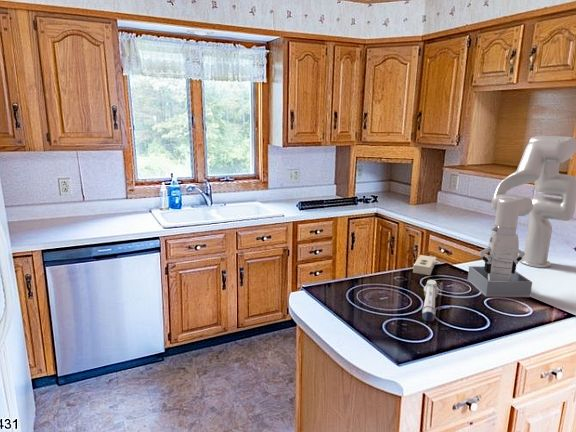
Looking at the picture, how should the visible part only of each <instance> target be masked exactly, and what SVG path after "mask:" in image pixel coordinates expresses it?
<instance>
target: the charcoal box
mask: <svg viewBox="0 0 576 432" xmlns="http://www.w3.org/2000/svg"><path fill="white" fill-rule="evenodd" d="M484 267H485V265H484V266H483V265H482V266H481V265H479V266H477V265H476V266H475V265H473V266H472V265H471V266H468V271H467V272H468V273H467V281H468V282H469V283H470V284H471V285H473V287H475V288H476V289H477V290H478V291H479V292H480V293H481V294H482V295H484V297H488V298H489V297H491V298H492V297H495V298H500V297H501V298H502V297H503V298H504V297H506V298H508V297H509V298H531V295H532V294H531V293H532V286H533V281H531V280H530V279H528V278H527V277H526V276H524V275H522V274H521V273H519V272H518V271H516V270H515V273H514V274H512V273H511V279H510V281H489V280H488V273H487V272H486V271H485V270H484Z"/></svg>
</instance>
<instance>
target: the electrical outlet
mask: <svg viewBox="0 0 576 432" xmlns="http://www.w3.org/2000/svg"><path fill="white" fill-rule="evenodd" d="M436 262H437V257H436V256H431V255H430V256H429V255H422V254H419V256H418V257H417V259H416V260H415V263H414V264H413V266H412V267H413V269H412V273H414V274H419V275H426V276H431V275H432V272H433V269H434V267H435V265H436Z"/></svg>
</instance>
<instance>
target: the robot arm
mask: <svg viewBox="0 0 576 432" xmlns="http://www.w3.org/2000/svg"><path fill="white" fill-rule="evenodd" d="M575 153H576V138H575V137H573V136H559V135H535V136H532V137H530V138H529V140H528V144H527V145H526V147H525V148H524V151H523V154H522V157H521V158H520V162H519V164H518V166H517V169H516V171H515V172H512V173H511V174H510V175H508V176H506V177H504V179H502V181H500V183H498V184H497V187H496V189H495V191H494V193H493V196H492V198H491V205H490V206H491V209H492V210H493V211H494V212H495V220H494V225H493V227H492V226H491V227H490V230H491V231H493V232H491V234H490V238H489V241H488V246H487V248H484V249H483V250H480V251H479V252H478V254H479V256H480V257H481V258H480V259H482V260H483V262H484V266H485V267H484V270H485V271H486V272H487V273H488V274H490V270H491V264H490V263H491V262H492V259H494V260H497V259H498V255H513V264H512V272H511V273H512V274H514V273H515V271H516V269H517V265H518V264H519V262H520V263H521V264H523V265H525V266H529V267H534V268H549V267H551V265H552V264H551V262H550V261H549V260H548V258H549V251H550V245H551V239H552V232H553V226H552V224H551V222H550V220H555V221H556V220H557V221H561V222H569V221H571V220H572V219H573V217H574V215H575V211H576V176H574V175H572V174H564V173H560V172H559V171H560V164H562V163H564V162H566V161H567V160H569V159H570V158H572V157H573V156H574V154H575ZM531 183H534V190H535V191H536V193H538V194H540V195H539V196H534V197H532V198H530V197H527V196H523V195H522V196H521V195H517V194H516V195H515V194H508V191H510V190H511V189H513V188H516V187H518V186H522V185H527V184H531ZM544 195H548V196H544ZM551 196H556V197H551ZM558 197H559V198H558ZM526 216H528V225H527V230H526V231H527V232H526V237H525V245H524V246H525V247H524V250H520V248H519V246H520V243H519V242H520V241H519V234H517V229H518V228H517V226H518V219H519V217H526ZM485 254H486V255H485Z"/></svg>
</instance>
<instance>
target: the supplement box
mask: <svg viewBox="0 0 576 432" xmlns="http://www.w3.org/2000/svg"><path fill="white" fill-rule="evenodd" d="M490 264H491V270H490V274H488V280H489V281H510V279H511V272H512V264H513V255H498V259H497V260H494V259H492V262H491V263H490Z"/></svg>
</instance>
